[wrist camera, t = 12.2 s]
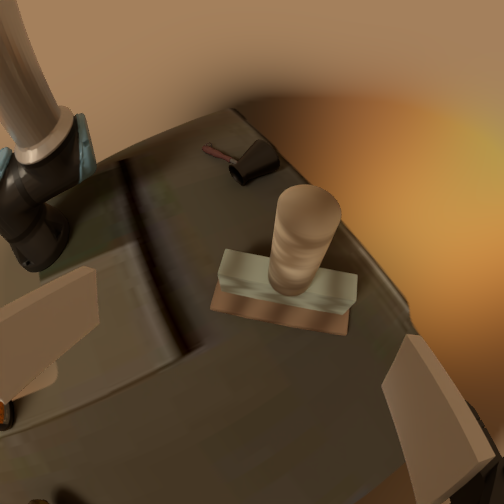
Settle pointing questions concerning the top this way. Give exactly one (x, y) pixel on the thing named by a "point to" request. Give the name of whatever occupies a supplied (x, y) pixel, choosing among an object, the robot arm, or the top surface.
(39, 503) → the potato
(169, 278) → the top surface
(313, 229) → the rod
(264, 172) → the coffee pot
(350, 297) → the stand
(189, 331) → the top surface
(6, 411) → the supplement container
